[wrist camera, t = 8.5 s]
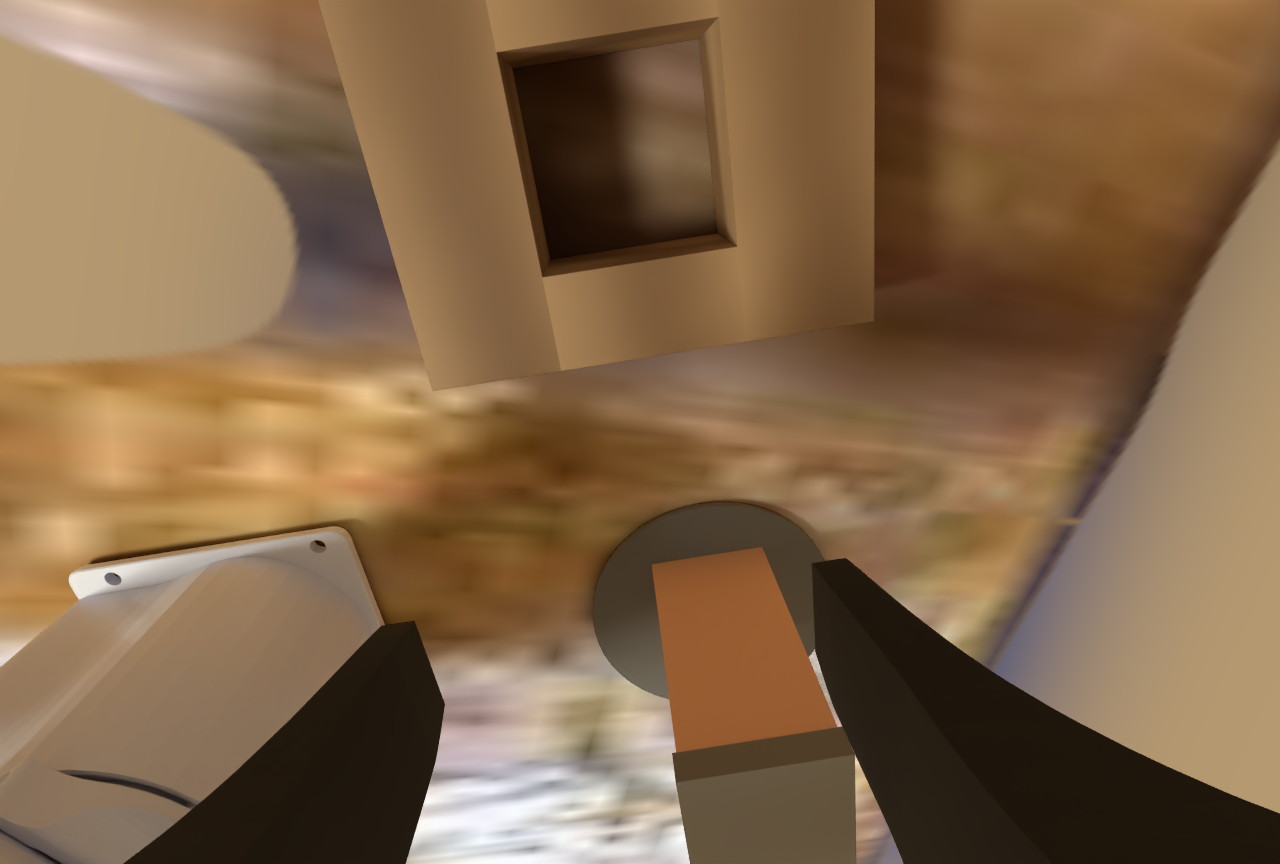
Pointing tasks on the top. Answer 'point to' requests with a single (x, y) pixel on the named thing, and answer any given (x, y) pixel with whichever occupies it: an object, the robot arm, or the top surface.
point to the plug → (750, 720)
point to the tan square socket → (634, 276)
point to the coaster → (683, 534)
